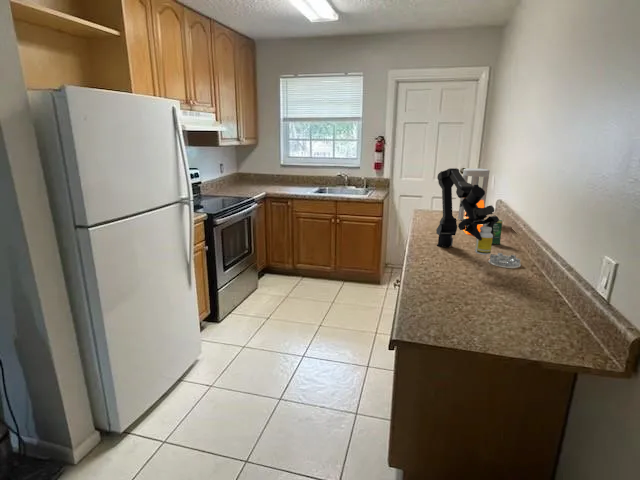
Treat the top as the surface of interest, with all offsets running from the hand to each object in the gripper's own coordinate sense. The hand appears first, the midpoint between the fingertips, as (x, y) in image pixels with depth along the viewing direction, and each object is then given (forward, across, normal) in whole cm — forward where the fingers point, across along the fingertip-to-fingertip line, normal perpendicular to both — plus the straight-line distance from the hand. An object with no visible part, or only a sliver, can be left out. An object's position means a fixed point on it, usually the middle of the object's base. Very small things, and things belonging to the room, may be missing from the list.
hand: (486, 239), depth 169 cm
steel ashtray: (+8, +14, +10) cm, 20 cm away
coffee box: (-11, +35, +31) cm, 48 cm away
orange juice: (-26, +42, +46) cm, 68 cm away
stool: (-44, +63, +64) cm, 100 cm away
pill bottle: (+4, 0, +6) cm, 7 cm away
